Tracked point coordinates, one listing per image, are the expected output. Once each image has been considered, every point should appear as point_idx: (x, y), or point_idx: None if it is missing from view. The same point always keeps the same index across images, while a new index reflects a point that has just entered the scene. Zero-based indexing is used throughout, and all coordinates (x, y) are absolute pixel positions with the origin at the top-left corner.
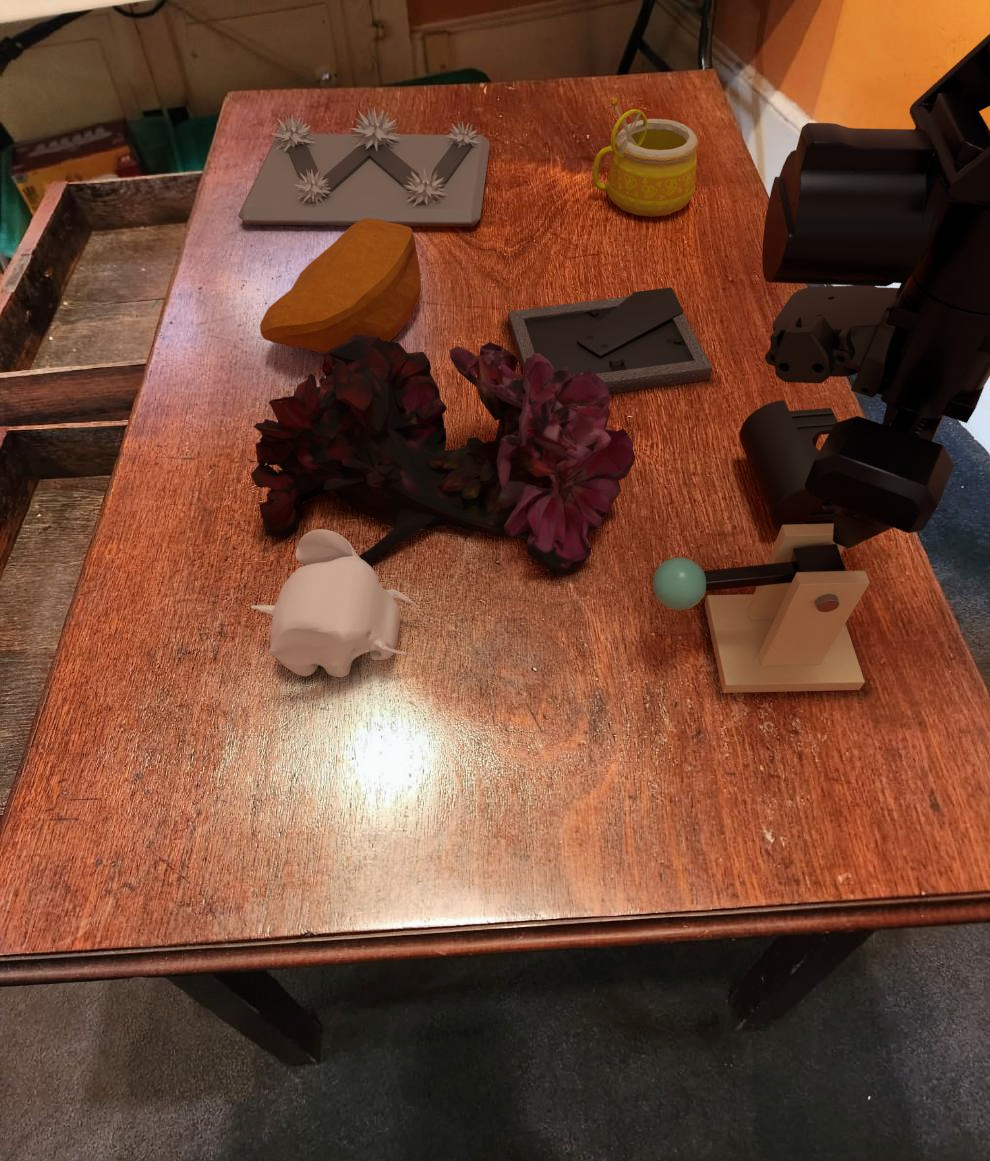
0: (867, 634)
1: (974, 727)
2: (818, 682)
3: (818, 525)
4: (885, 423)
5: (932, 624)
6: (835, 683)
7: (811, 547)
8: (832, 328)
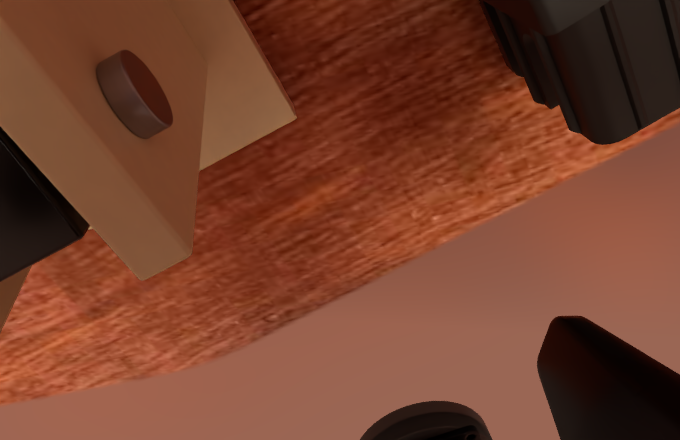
0: (243, 192)
1: (144, 371)
2: None
3: (104, 162)
4: (672, 434)
5: (327, 280)
6: None
7: (7, 154)
8: None
